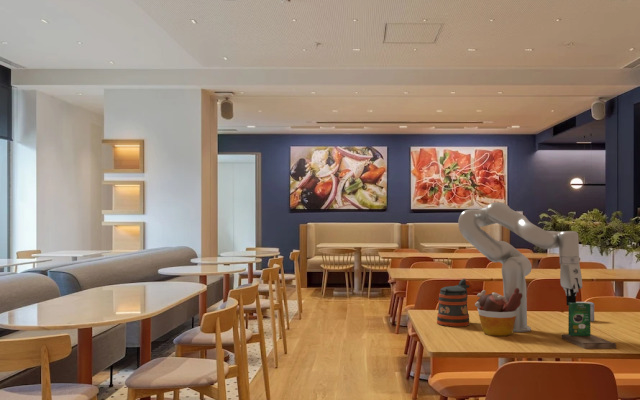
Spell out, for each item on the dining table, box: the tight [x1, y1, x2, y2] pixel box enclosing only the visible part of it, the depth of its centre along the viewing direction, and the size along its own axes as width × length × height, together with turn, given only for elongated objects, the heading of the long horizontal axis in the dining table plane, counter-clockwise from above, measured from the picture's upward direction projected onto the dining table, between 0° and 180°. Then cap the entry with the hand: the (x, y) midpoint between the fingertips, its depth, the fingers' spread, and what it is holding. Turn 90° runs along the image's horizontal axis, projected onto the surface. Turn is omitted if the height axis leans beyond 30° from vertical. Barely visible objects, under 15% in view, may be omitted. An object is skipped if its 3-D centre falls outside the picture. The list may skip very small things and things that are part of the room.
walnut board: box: [561, 333, 617, 350], centre depth 217 cm, size 12×18×2 cm, turn 2°
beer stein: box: [436, 278, 470, 328], centre depth 260 cm, size 19×15×20 cm
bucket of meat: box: [474, 288, 523, 337], centre depth 235 cm, size 20×16×20 cm
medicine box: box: [576, 301, 595, 322], centre depth 266 cm, size 8×4×9 cm, turn 84°
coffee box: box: [567, 303, 592, 336], centre depth 223 cm, size 8×3×13 cm, turn 92°
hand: (571, 305), depth 231 cm, fingers closed
